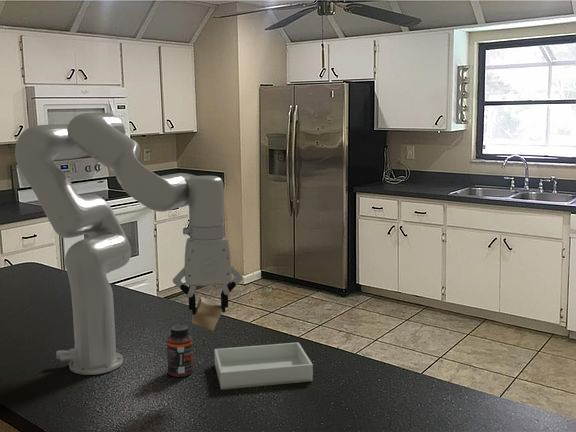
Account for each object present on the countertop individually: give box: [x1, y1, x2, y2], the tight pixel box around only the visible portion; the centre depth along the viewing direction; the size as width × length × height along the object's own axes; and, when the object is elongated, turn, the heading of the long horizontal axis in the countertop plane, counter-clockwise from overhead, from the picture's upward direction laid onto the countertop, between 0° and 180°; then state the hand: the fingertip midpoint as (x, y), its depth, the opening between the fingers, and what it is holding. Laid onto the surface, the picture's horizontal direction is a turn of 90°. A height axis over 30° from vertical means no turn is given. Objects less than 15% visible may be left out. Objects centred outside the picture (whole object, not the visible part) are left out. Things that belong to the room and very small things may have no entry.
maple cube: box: [191, 296, 223, 332], centre depth 138 cm, size 5×5×5 cm
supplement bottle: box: [166, 324, 194, 378], centre depth 146 cm, size 6×6×11 cm
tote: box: [214, 342, 314, 391], centre depth 147 cm, size 21×14×4 cm
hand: (208, 310), depth 138 cm, fingers closed on maple cube, 5 cm apart
